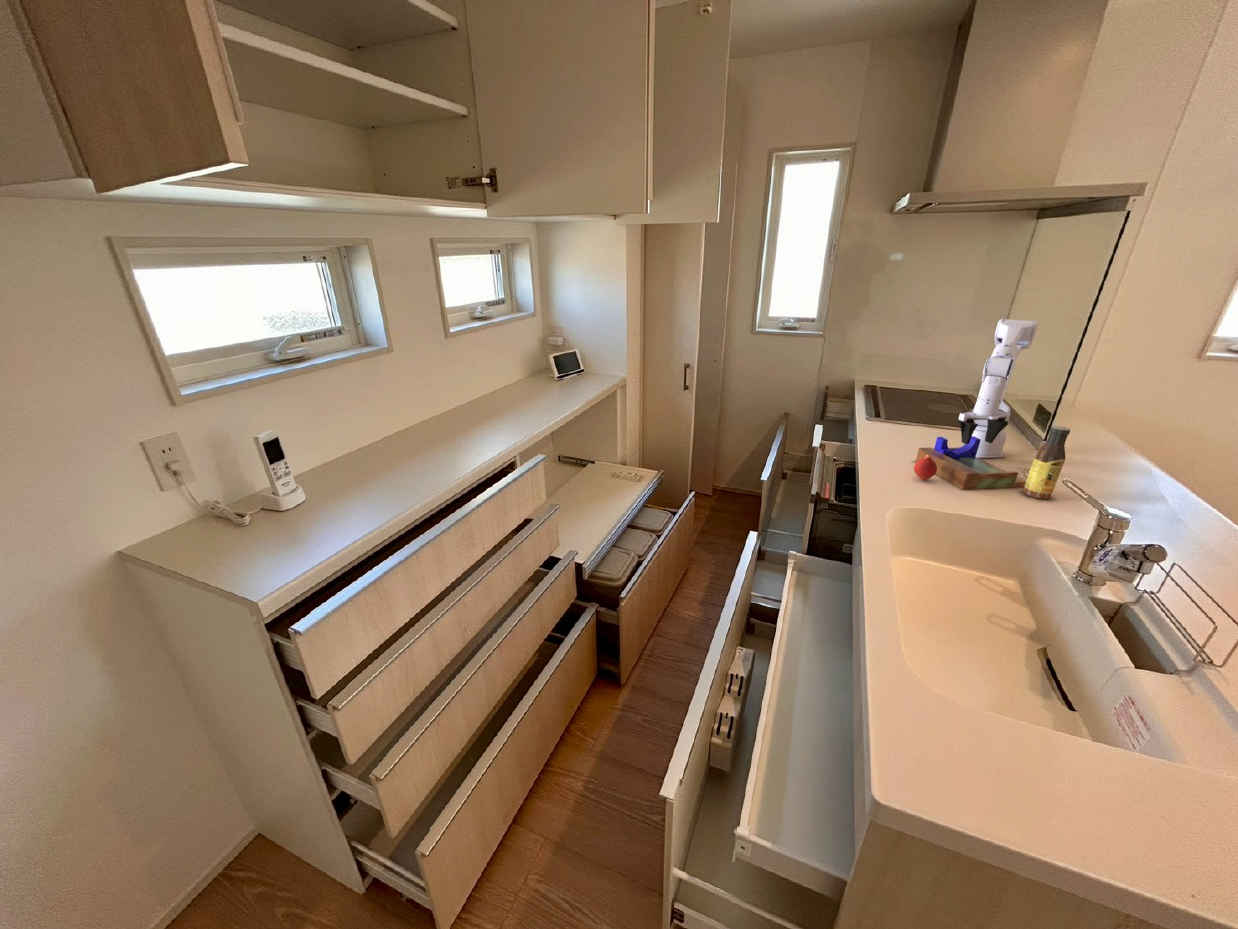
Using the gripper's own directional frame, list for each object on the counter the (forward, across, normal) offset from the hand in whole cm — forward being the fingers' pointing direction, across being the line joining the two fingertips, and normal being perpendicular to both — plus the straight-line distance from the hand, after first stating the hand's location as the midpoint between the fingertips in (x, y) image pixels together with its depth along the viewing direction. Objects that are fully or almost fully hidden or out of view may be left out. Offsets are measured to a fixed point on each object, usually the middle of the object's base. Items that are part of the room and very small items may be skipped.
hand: (976, 442), depth 150 cm
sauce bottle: (+10, +8, -16) cm, 21 cm away
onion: (+10, -17, -3) cm, 20 cm away
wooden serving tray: (+10, 0, 0) cm, 10 cm away
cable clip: (+7, 0, +7) cm, 10 cm away
